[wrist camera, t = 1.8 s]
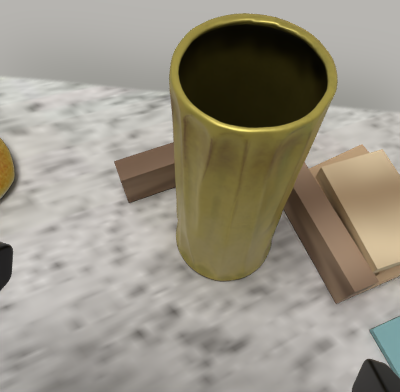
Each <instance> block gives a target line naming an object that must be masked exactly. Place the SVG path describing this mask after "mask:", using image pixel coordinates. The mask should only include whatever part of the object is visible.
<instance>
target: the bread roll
mask: <svg viewBox="0 0 400 392" xmlns="http://www.w3.org/2000/svg"><path fill="white" fill-rule="evenodd" d="M14 175H15V171H14V165H13V161H12V157H11V154H10V152H9V150H8V148H7V146H6V145H5V143H4V142H3V141H2V139H1V138H0V199H1V198H2V197H3V196H4V194H5V193H6V191H7V190H8V189H9V187H10V186H11V184H12V183H13V181H14Z"/></svg>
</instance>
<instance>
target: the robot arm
mask: <svg viewBox="0 0 400 392" xmlns="http://www.w3.org/2000/svg"><path fill="white" fill-rule="evenodd" d="M12 261H13V248H12V247H11V245H9V244H5V243H2V242H0V291H1V290H2V288H3V287H4V286H5V285H6V284H7V283H8V281H9V279H10V277H11V274H12ZM352 392H400V378H399V377H398V376H397V375H396V374H395V373H394V372H393V371H392V370H391V369H390V368H389V367H388V366H387V365H386V364H385V363H382V362H379V361H375V360H372V359H367V360H365V361H364V363H363V365H362V367H361V369H360V371H359V374H358V376H357V378H356V380H355V382H354V385H353V388H352Z"/></svg>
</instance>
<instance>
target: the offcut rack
mask: <svg viewBox="0 0 400 392" xmlns="http://www.w3.org/2000/svg"><path fill="white" fill-rule="evenodd" d="M114 163H115V166H116V168H117V171H118V174H119V177H120V180H121V183H122V185H123V188H124V191H125V194H126V196H127V199H128V202H129V203H130V202H133V201H136V200H139V199H142V198H145V197H148V196H151V195H153V194H156V193H159V192H162V191H165V190H168V189H171V188H174V187H176V183H175V162H174V142H173V143H170V144H167V145H164V146H161V147H157V148H154V149H151V150H148V151H145V152H142V153H139V154H136V155H133V156H129V157H126V158H123V159H120V160H117V161H114ZM284 211H285V213H286V215H287V216H288V218H289V220H290V222H291V224H292V225H293V227H294V229H295V231H296V233H297V234H298V236H299V238H300V240H301V242H302V243H303V245H304V247H305V249H306V251H307V252H308V254H309V256H310V258H311V260H312V261H313V263H314V265H315V267H316V269H317V270H318V272H319V274H320V276H321V278H322V279H323V281H324V283H325V285H326V287H327V288H328V290H329V292H330V294H331V296H332V297H333V299H334V301H335V303H336V304H337V303H339V302H342V301H344V300H346V299H348V298H351V297H353V296H355V295H358V294H360V293H362V292H364V291H367V290H369V289H371V288H373V287H376V286H378V285H380V284H383V283H385V282H387V281H389V280H392V279H394V278H396V277H398V276H400V175H399V173H398V172H397V170H396V169H395V167H394V166H393V164H392V163H391V161H390V160H389V158H388V157H387V155H386V154H385V152H384V151H383V149H382V150H378V151H375V152H371V153H369V152H368V151H367V149H366V148H365V147H364V146H363V145H359V146H357V147H355V148H353V149H351V150H349V151H346V152H344V153H342V154H340V155H338V156H336V157H333V158H331V159H329V160H327V161H325V162H323V163H320V164H318V165H316V166H314V167H312V168H310V169H308V167H307V165H306V164H305V162H304V164H303V166H302V168H301V170H300V172H299V174H298V176H297V179H296V182H295V184H294V187H293V189H292V191H291V193H290V195H289V197H288V199H287V202H286V204H285V206H284Z"/></svg>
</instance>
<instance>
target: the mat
mask: <svg viewBox="0 0 400 392" xmlns="http://www.w3.org/2000/svg"><path fill="white" fill-rule="evenodd" d="M370 332H371V334H372V336H373V337H374V339H375V341H376V342H377V344H378V346H379V348H380V349H381V351H382V353H383V355H384V356H385V358H386V360H387V362H388V363H389V365H390V367H391V368H392V370H393V372H394V373H395V374H396V375H397V376H398V377H399V378H400V316H399V317H397V318H394V319H392V320H390V321H388V322H386V323H384V324H382V325H379V326H377V327H375V328H373V329H371V330H370Z"/></svg>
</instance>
